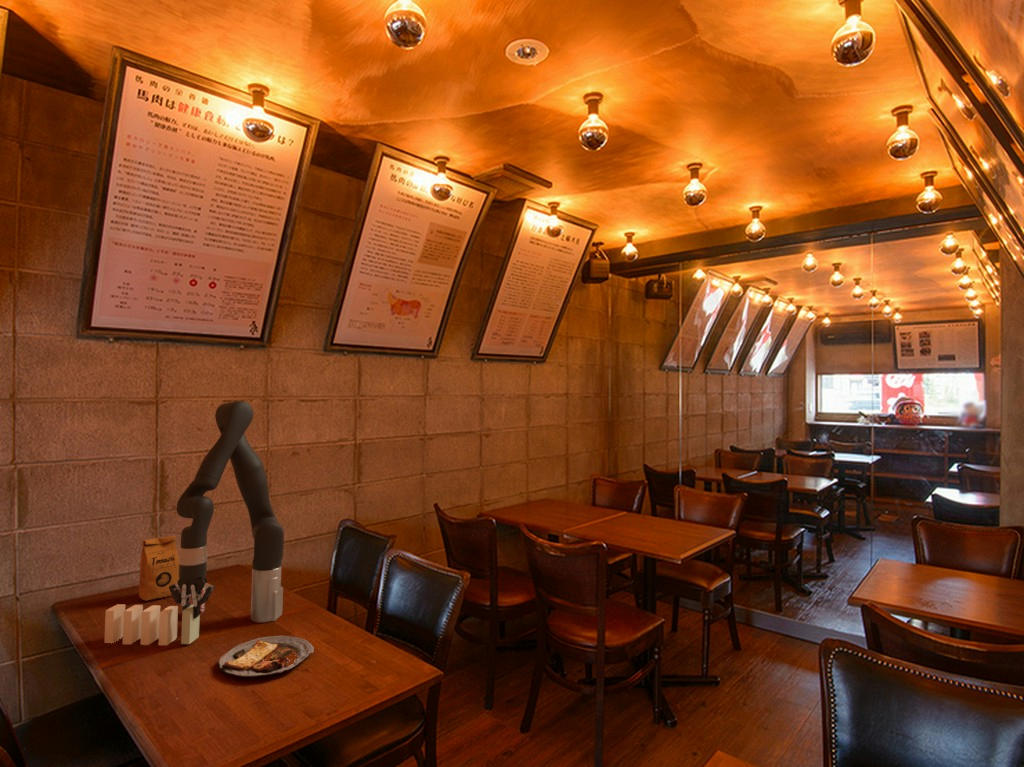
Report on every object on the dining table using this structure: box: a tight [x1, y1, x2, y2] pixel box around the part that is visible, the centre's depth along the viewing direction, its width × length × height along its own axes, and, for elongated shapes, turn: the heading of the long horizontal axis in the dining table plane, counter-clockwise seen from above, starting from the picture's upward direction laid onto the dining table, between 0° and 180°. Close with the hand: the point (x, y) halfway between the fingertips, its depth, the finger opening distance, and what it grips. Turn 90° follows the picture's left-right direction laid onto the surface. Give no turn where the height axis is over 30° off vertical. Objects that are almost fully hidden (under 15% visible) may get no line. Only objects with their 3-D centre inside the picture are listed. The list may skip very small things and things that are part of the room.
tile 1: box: [104, 603, 126, 645], centre depth 171 cm, size 2×5×10 cm, turn 179°
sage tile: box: [180, 604, 201, 645], centre depth 171 cm, size 2×5×10 cm, turn 179°
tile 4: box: [158, 605, 179, 647], centre depth 171 cm, size 2×5×10 cm, turn 179°
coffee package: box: [138, 535, 179, 602], centre depth 207 cm, size 10×12×22 cm
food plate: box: [217, 635, 315, 678], centre depth 161 cm, size 25×23×4 cm
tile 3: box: [140, 604, 161, 646], centre depth 171 cm, size 2×5×10 cm, turn 0°
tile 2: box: [122, 604, 144, 645], centre depth 171 cm, size 2×5×10 cm, turn 0°
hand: (190, 617), depth 171 cm, fingers closed on sage tile, 2 cm apart
